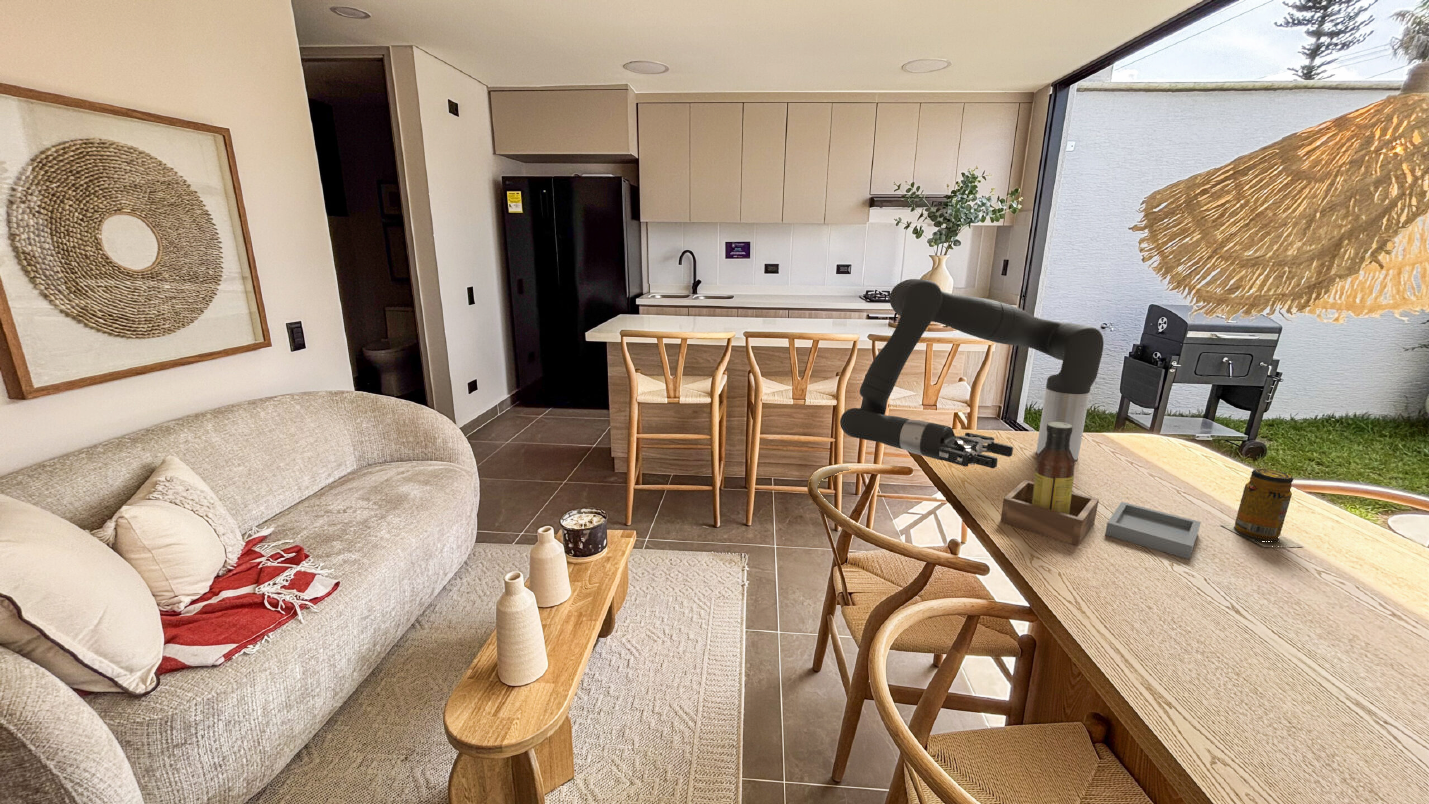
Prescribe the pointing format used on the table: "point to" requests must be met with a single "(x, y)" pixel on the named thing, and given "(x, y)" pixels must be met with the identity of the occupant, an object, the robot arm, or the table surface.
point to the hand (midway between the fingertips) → (1004, 457)
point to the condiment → (1264, 508)
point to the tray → (1154, 529)
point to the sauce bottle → (1055, 470)
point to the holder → (1049, 515)
